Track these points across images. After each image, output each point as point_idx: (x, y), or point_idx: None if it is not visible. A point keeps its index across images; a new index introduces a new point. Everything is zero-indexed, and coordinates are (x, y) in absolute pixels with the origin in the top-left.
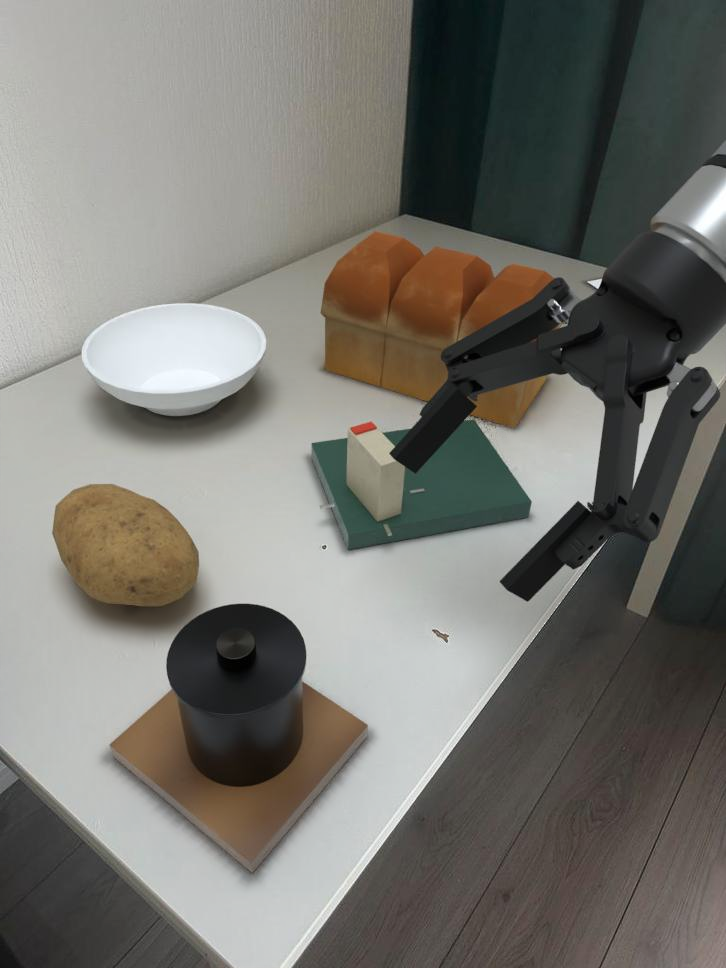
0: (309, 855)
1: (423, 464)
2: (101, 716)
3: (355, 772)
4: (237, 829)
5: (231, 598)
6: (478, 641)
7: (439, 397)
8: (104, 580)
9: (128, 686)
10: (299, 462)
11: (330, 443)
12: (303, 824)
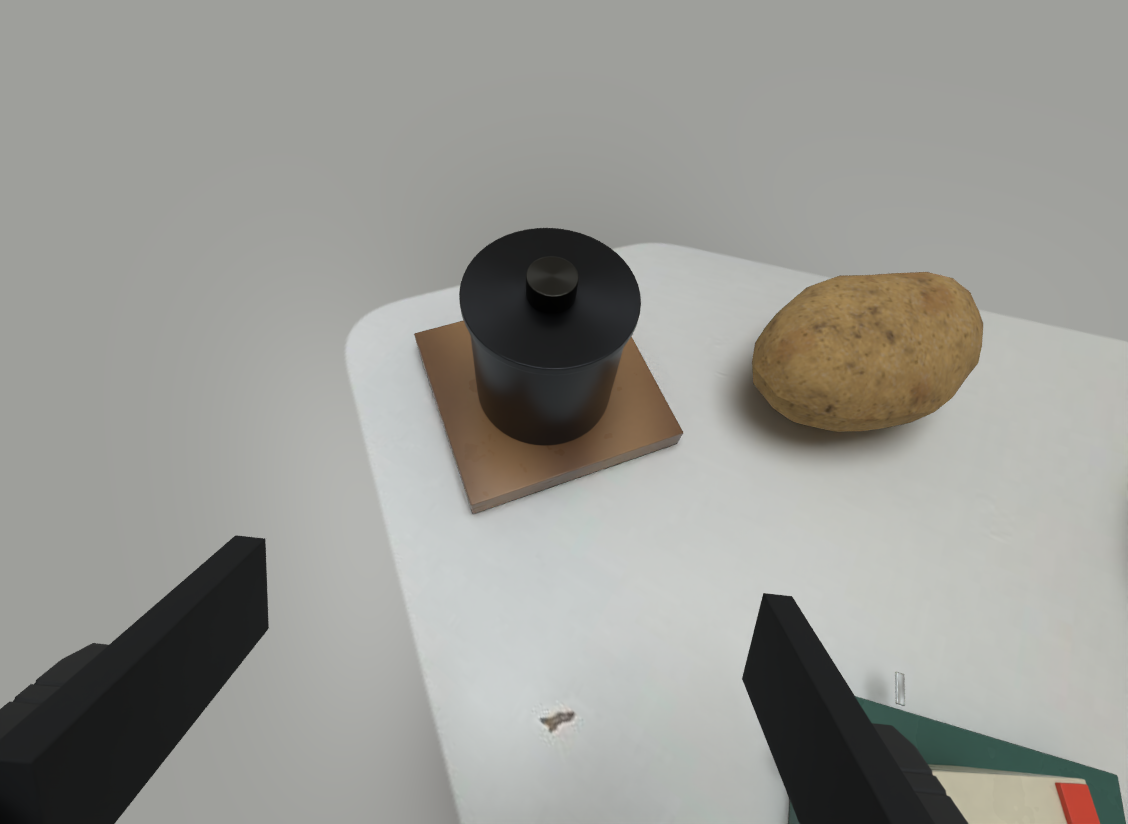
0: (397, 394)
1: (752, 702)
2: (650, 304)
3: (442, 477)
4: (450, 336)
5: (759, 475)
6: (512, 775)
7: (906, 779)
8: (796, 297)
9: (674, 334)
10: (1068, 738)
11: (1113, 819)
12: (428, 404)
